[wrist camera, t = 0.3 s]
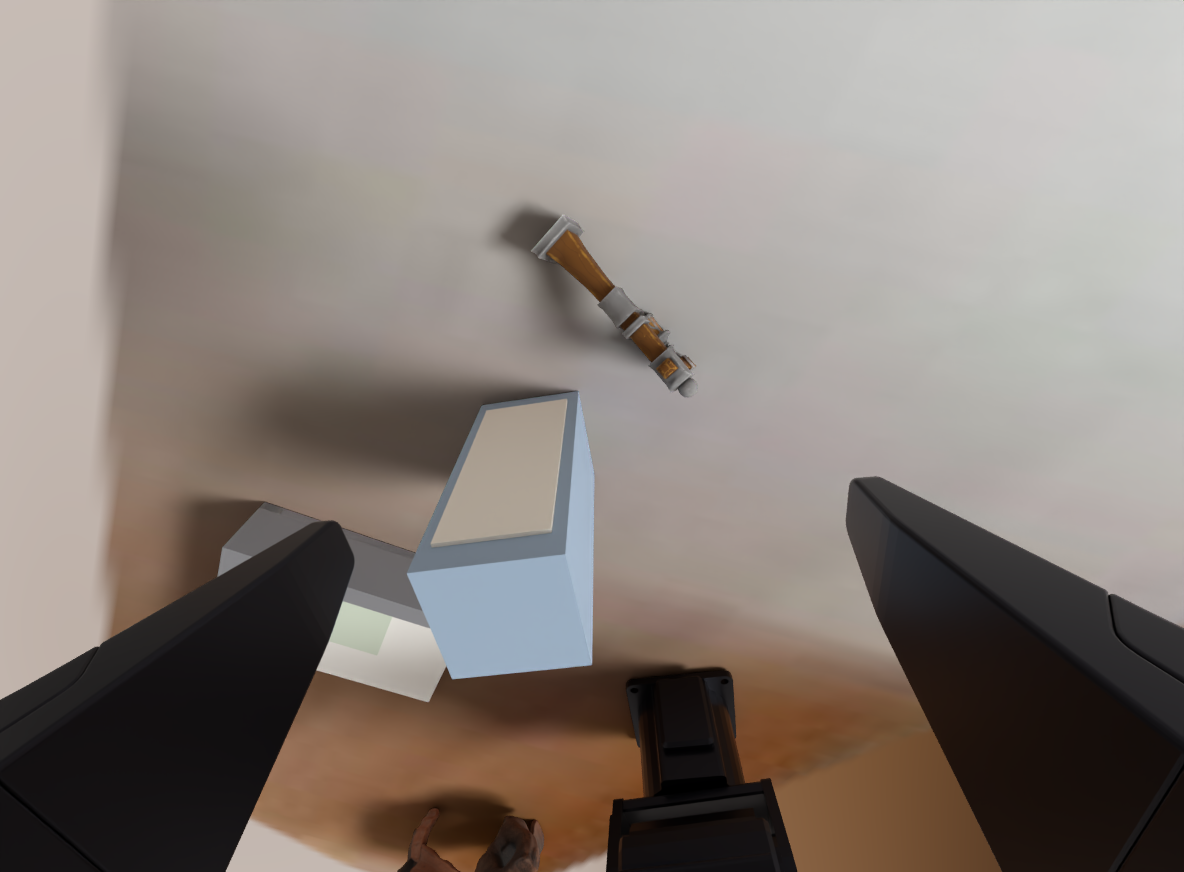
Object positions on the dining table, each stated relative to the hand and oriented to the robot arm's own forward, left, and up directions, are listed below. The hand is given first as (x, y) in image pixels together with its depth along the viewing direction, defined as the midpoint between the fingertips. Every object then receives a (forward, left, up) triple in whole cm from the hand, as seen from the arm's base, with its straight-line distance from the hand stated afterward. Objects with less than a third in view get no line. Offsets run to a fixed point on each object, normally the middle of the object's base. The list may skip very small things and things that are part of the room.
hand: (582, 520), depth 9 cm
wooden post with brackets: (0, -1, -15) cm, 15 cm away
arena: (-15, +16, -15) cm, 27 cm away
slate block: (-6, +4, -15) cm, 16 cm away
